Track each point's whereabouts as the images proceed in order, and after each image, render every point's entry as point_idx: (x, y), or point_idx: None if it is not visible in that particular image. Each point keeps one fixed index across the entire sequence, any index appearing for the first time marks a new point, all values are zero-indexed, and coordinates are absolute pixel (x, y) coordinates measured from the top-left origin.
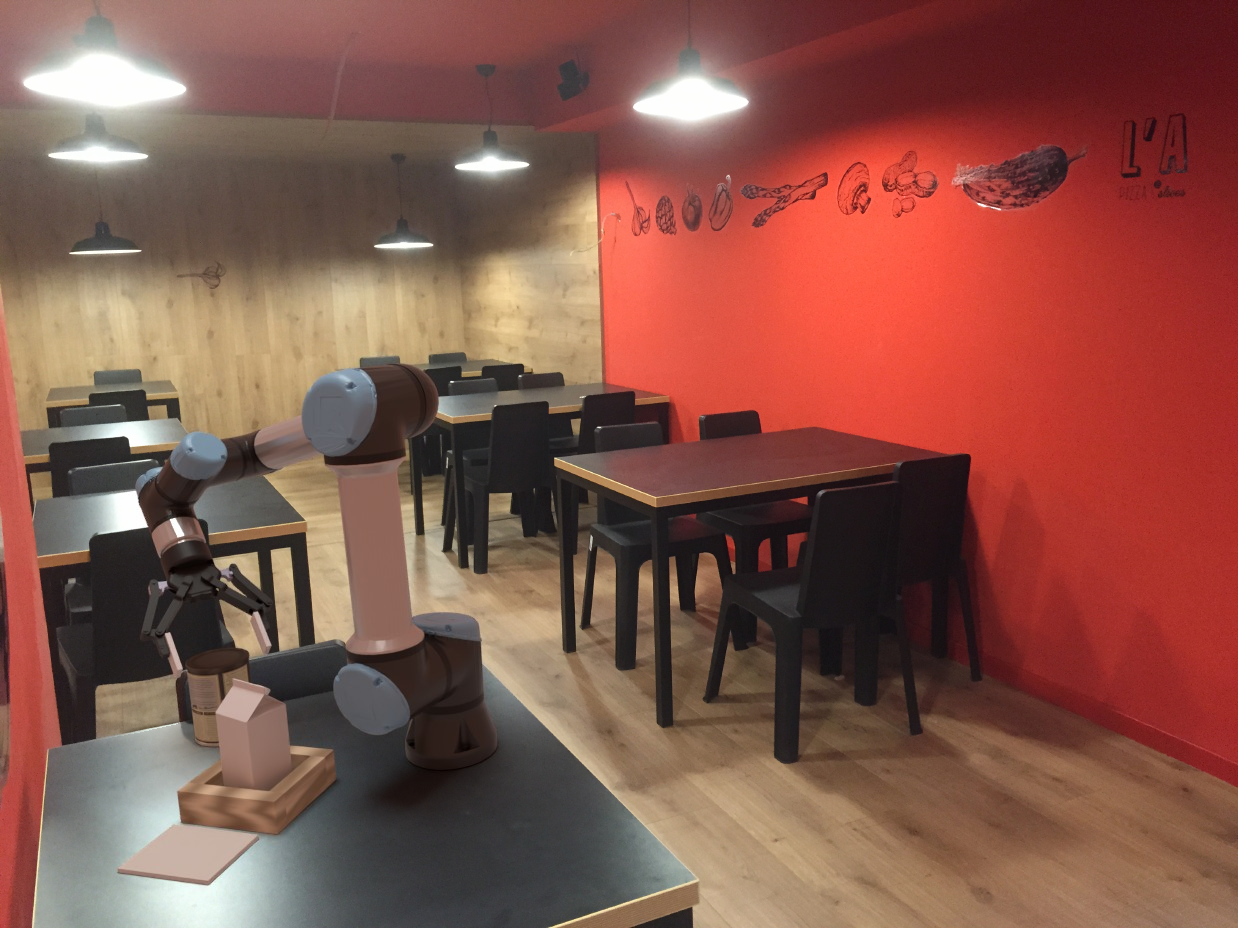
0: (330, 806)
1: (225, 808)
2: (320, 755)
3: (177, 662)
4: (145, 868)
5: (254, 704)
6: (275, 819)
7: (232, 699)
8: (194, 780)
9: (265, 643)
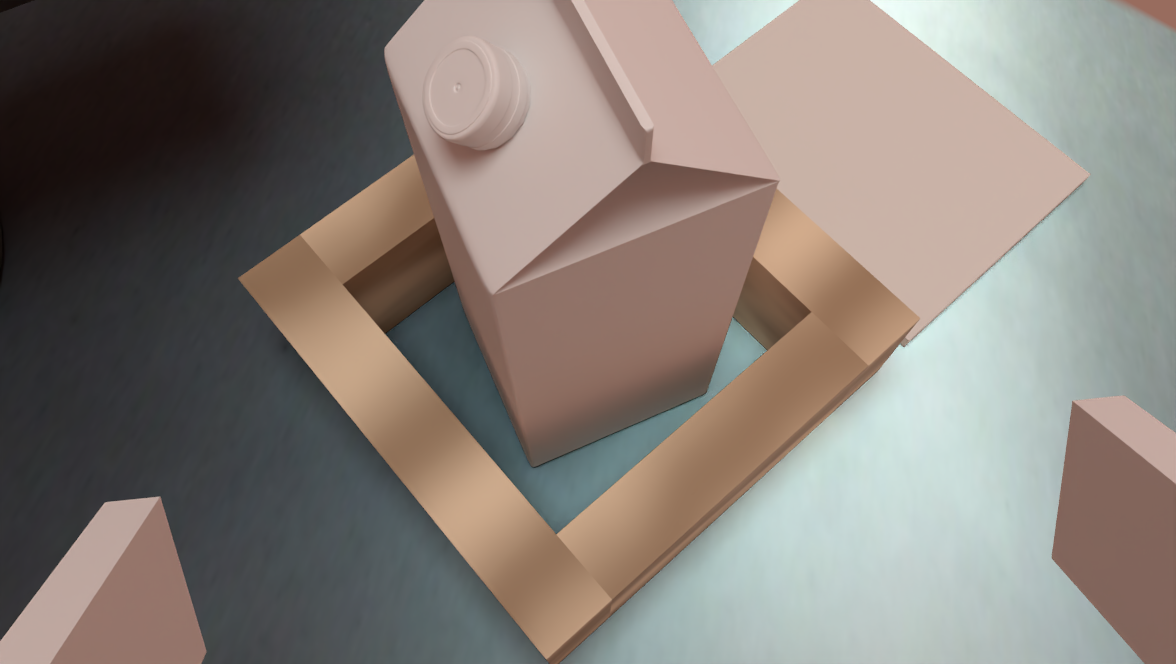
0: (391, 165)
1: None
2: (308, 260)
3: (1154, 442)
4: (1004, 125)
5: None
6: None
7: (677, 107)
8: (842, 368)
9: (145, 521)
